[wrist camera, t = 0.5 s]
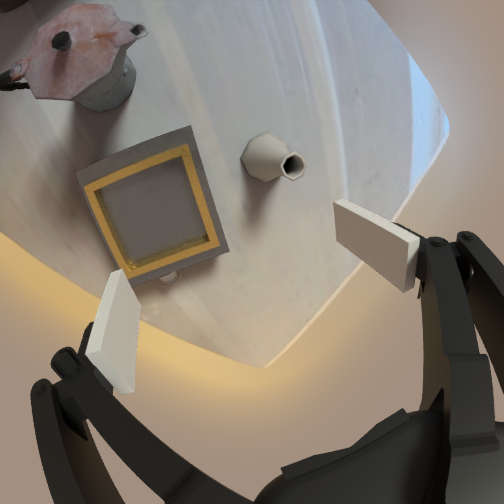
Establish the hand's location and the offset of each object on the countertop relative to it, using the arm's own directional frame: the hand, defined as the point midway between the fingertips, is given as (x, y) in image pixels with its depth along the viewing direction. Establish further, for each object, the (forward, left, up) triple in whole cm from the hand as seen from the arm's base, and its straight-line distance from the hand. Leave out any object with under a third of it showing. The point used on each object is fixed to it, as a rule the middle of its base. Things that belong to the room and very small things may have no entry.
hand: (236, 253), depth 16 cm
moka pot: (-18, -9, -25) cm, 32 cm away
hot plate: (+2, -7, -25) cm, 26 cm away
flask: (0, +10, -25) cm, 27 cm away
